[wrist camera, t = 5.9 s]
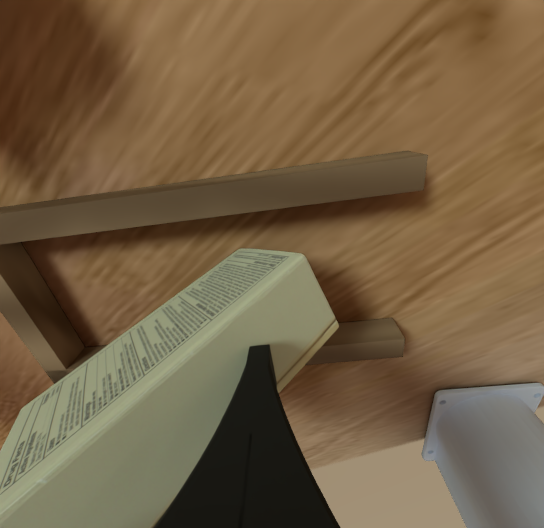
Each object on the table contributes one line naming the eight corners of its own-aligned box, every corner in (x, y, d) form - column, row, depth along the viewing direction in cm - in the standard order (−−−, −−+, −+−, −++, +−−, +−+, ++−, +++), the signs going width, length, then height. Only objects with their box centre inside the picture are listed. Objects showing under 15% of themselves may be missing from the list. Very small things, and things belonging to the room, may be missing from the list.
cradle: (390, 334, 19) (402, 356, 17) (75, 363, 20) (56, 386, 19) (407, 150, 13) (427, 155, 12) (-26, 211, 15) (-66, 222, 13)
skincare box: (273, 299, 18) (94, 460, 13) (238, 243, 16) (19, 405, 11) (346, 327, 12) (88, 617, 8) (306, 247, 11) (-56, 556, 6)
